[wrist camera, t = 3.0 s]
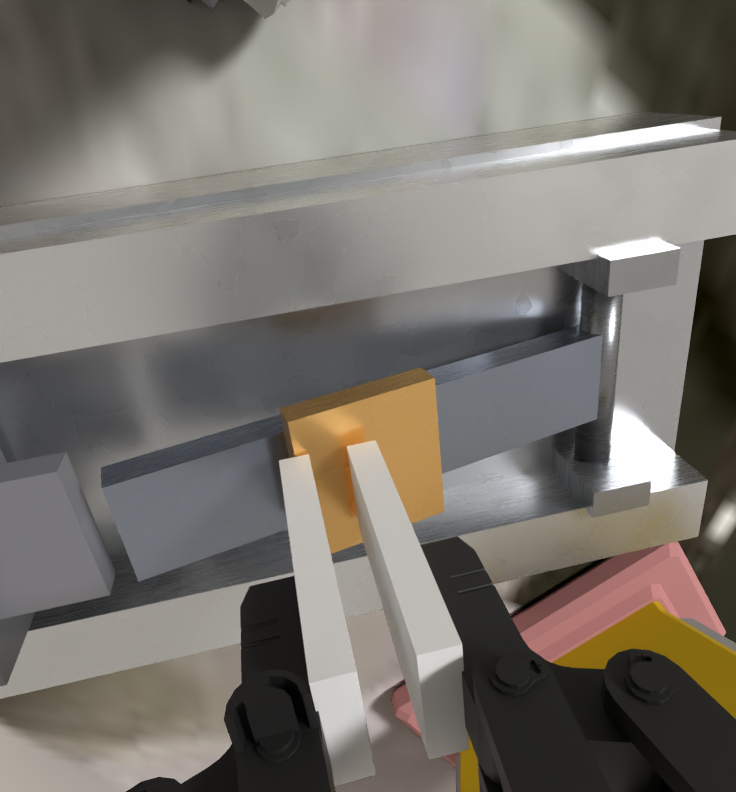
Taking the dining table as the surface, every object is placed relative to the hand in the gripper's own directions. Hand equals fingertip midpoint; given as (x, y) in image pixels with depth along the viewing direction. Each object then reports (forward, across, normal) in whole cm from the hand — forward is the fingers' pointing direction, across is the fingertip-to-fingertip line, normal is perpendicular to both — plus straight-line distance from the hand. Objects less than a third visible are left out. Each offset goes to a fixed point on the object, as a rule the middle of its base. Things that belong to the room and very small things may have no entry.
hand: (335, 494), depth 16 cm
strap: (+3, +2, 0) cm, 3 cm away
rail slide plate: (+9, 0, 0) cm, 9 cm away
